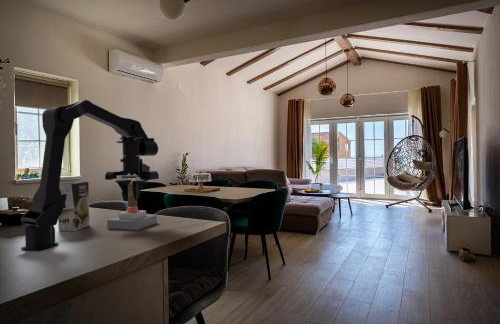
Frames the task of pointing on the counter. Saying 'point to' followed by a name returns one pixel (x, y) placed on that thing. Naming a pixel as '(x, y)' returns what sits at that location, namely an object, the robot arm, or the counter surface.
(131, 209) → the plunger
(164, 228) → the counter surface
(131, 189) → the tapered wooden peg
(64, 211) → the coffee box
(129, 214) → the button box
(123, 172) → the robot arm
